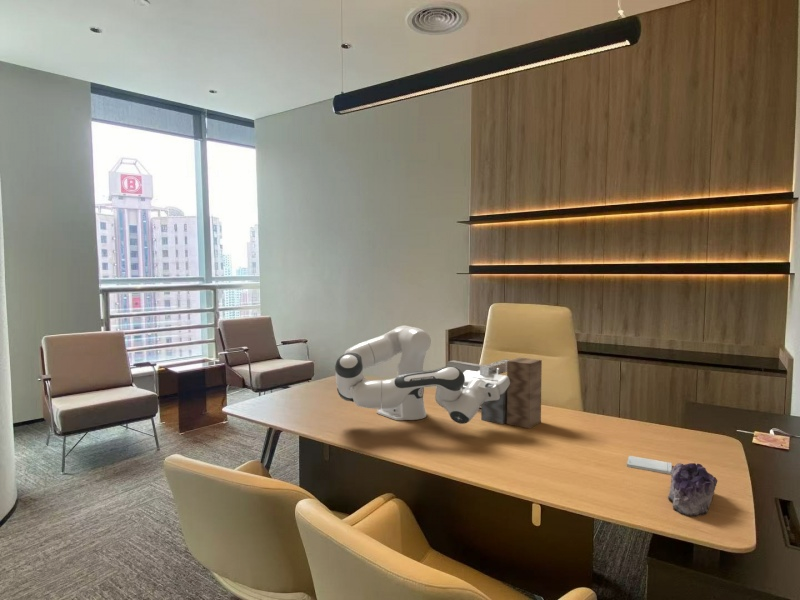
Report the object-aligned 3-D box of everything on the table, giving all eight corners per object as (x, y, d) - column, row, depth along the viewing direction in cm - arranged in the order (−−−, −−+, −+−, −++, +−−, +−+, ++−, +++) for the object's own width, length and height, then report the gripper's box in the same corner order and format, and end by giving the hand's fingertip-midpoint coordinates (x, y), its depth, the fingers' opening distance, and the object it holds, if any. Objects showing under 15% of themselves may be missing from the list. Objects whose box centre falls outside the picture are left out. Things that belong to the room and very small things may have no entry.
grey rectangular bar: (479, 376, 192) (479, 366, 192) (505, 368, 209) (505, 359, 208) (488, 377, 189) (488, 367, 189) (513, 369, 206) (513, 360, 206)
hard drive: (626, 463, 151) (671, 471, 144) (628, 455, 158) (671, 461, 151) (626, 468, 151) (671, 476, 144) (628, 460, 158) (671, 467, 151)
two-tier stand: (481, 419, 201) (481, 358, 200) (495, 413, 211) (495, 355, 210) (528, 429, 188) (528, 364, 187) (540, 422, 197) (541, 360, 196)
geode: (719, 525, 115) (714, 484, 115) (665, 518, 122) (660, 479, 122) (720, 491, 132) (715, 455, 132) (673, 486, 138) (668, 452, 138)
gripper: (457, 392, 195) (472, 371, 204) (502, 400, 182) (516, 377, 190) (453, 380, 192) (468, 359, 201) (498, 388, 179) (513, 365, 188)
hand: (492, 368), depth 196 cm, fingers closed on grey rectangular bar, 4 cm apart
